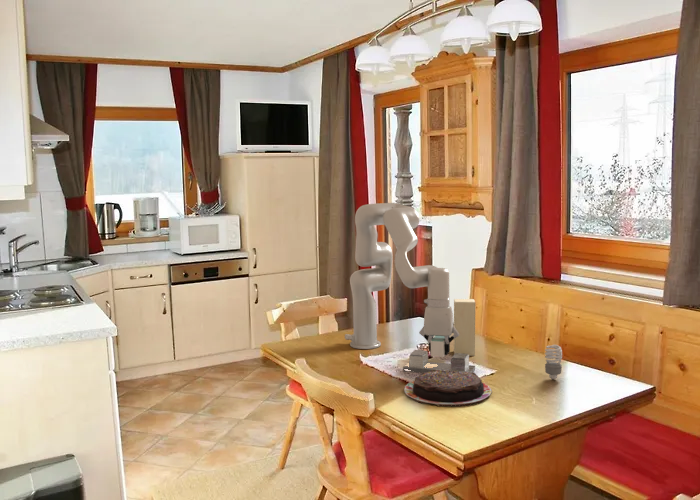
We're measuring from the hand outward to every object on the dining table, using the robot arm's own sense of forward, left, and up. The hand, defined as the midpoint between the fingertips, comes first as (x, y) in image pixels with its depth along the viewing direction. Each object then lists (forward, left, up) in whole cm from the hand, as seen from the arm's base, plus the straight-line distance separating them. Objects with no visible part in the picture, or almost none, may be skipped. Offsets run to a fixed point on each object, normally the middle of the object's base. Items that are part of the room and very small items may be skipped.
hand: (439, 353), depth 236 cm
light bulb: (+39, +1, -7) cm, 39 cm away
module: (0, 0, 0) cm, 0 cm away
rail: (0, 0, -6) cm, 6 cm away
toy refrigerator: (+4, +25, -7) cm, 26 cm away
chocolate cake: (+8, -22, -7) cm, 24 cm away
